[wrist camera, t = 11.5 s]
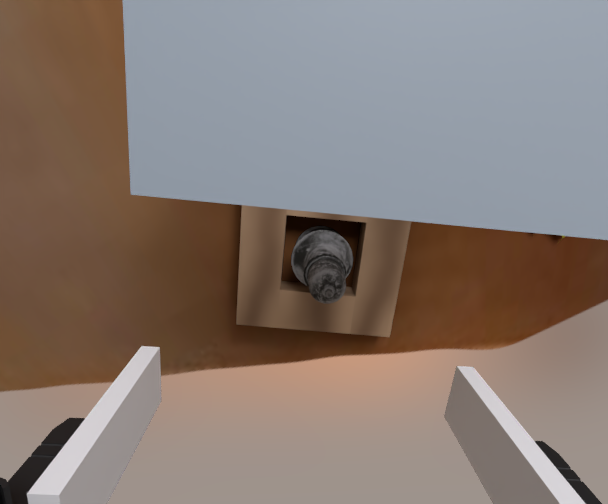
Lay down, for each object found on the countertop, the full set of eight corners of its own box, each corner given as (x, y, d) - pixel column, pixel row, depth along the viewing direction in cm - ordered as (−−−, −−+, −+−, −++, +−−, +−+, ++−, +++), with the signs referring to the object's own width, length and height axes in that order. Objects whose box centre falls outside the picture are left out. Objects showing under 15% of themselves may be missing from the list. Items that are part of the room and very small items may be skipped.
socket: (240, 313, 38) (236, 324, 35) (250, 120, 32) (245, 117, 30) (384, 325, 39) (389, 337, 36) (417, 137, 33) (427, 136, 31)
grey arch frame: (237, 167, 34) (130, 194, 13) (241, 78, 31) (119, -74, 10) (419, 185, 34) (608, 239, 13) (435, 99, 32) (694, -4, 11)
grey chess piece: (355, 266, 37) (380, 318, 25) (302, 284, 37) (304, 342, 26) (338, 214, 35) (356, 244, 24) (283, 233, 36) (276, 271, 24)
